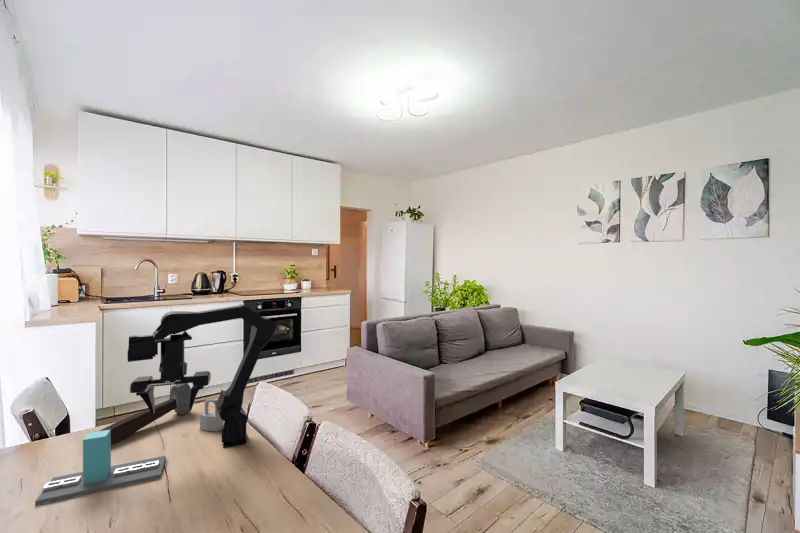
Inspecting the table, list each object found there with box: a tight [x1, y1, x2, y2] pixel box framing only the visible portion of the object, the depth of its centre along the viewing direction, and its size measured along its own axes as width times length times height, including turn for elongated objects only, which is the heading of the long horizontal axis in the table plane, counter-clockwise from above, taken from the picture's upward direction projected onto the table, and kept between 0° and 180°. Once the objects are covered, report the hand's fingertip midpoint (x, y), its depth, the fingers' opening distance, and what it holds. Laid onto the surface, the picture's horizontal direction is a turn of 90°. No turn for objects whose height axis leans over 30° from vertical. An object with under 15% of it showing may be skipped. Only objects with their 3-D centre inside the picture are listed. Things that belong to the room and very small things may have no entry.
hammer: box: [99, 383, 192, 446], centre depth 122 cm, size 5×11×30 cm
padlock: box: [199, 398, 225, 432], centre depth 121 cm, size 7×4×10 cm, turn 75°
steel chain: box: [41, 460, 159, 493], centre depth 92 cm, size 23×2×1 cm, turn 116°
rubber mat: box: [34, 455, 167, 506], centre depth 93 cm, size 24×10×1 cm, turn 116°
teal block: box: [82, 430, 112, 485], centre depth 92 cm, size 4×4×11 cm
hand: (172, 411), depth 103 cm, fingers open, 9 cm apart
